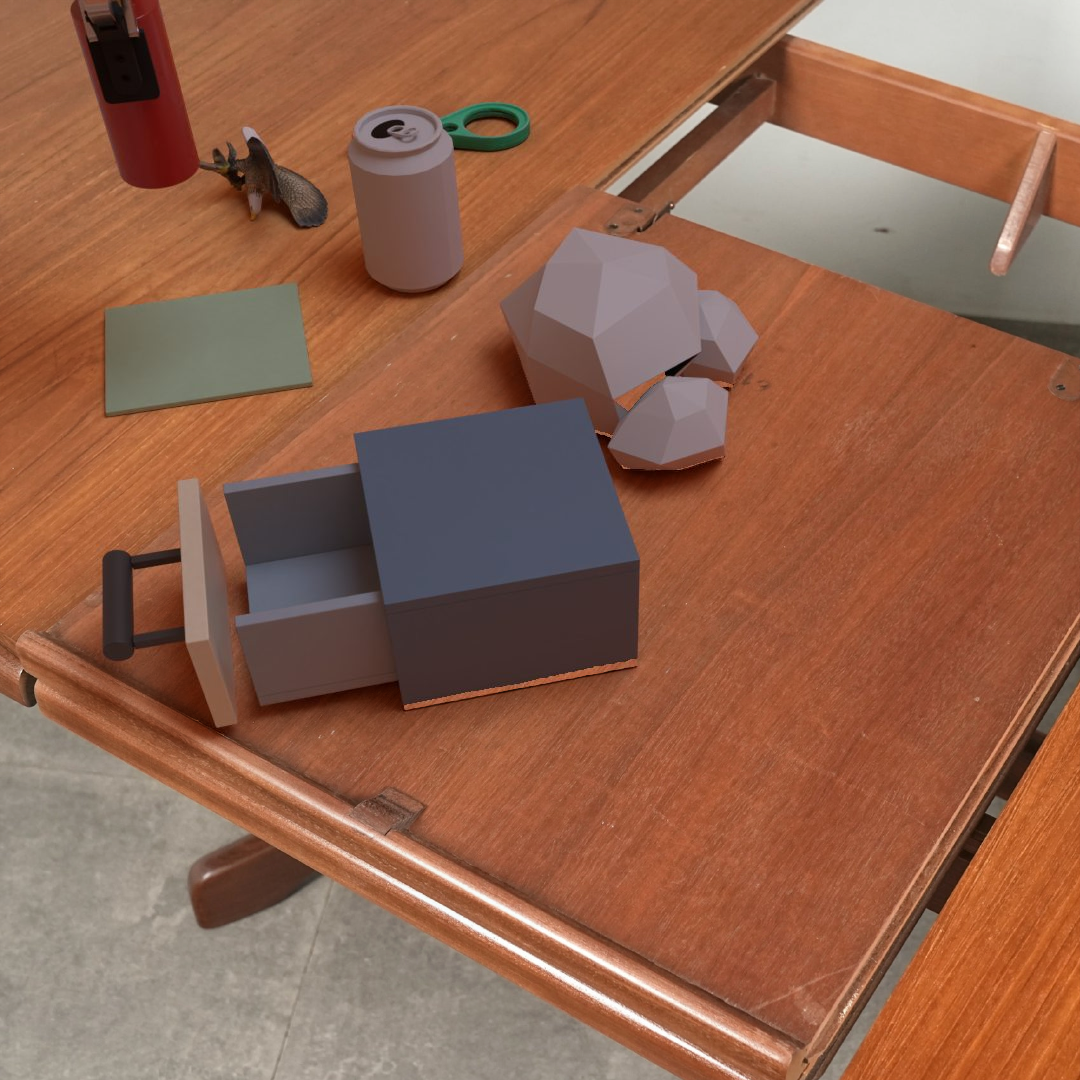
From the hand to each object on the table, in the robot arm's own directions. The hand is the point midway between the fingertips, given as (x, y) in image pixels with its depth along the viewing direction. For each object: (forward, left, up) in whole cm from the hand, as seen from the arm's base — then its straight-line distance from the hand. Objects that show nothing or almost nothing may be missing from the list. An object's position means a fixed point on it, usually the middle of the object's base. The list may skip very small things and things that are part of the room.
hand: (132, 72), depth 83 cm
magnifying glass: (+21, +24, -21) cm, 38 cm away
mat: (0, 0, -21) cm, 21 cm away
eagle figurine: (+6, +17, -21) cm, 28 cm away
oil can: (0, 0, -6) cm, 6 cm away
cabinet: (+16, -29, -21) cm, 39 cm away
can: (+16, +6, -21) cm, 27 cm away
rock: (+28, -12, -21) cm, 37 cm away
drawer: (+3, -29, -20) cm, 35 cm away
